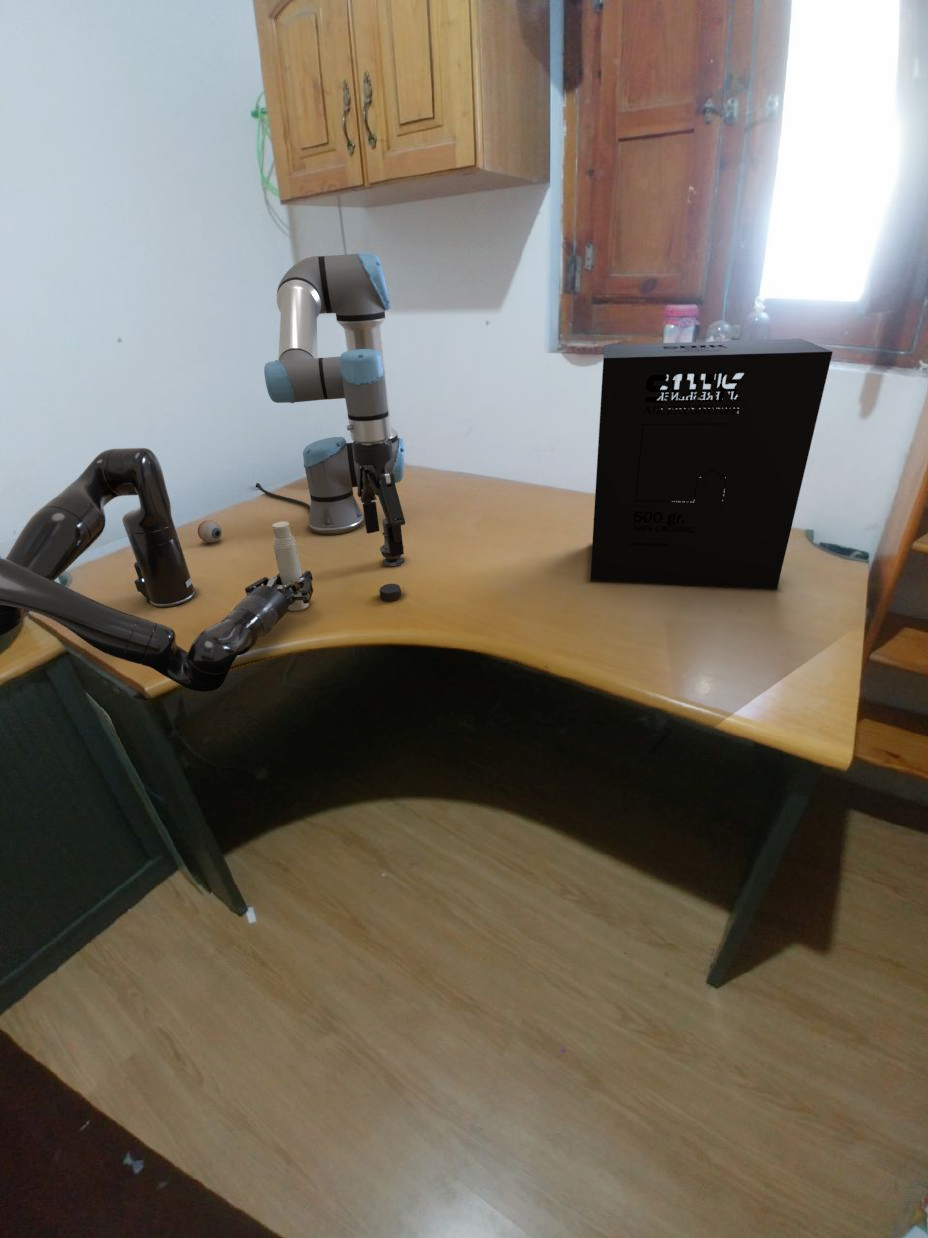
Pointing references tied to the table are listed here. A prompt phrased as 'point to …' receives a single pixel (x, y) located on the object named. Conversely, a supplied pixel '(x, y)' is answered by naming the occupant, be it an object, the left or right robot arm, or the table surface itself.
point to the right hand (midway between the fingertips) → (384, 543)
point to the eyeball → (209, 531)
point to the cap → (390, 592)
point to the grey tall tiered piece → (385, 551)
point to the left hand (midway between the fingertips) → (298, 574)
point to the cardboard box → (703, 460)
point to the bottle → (287, 559)
